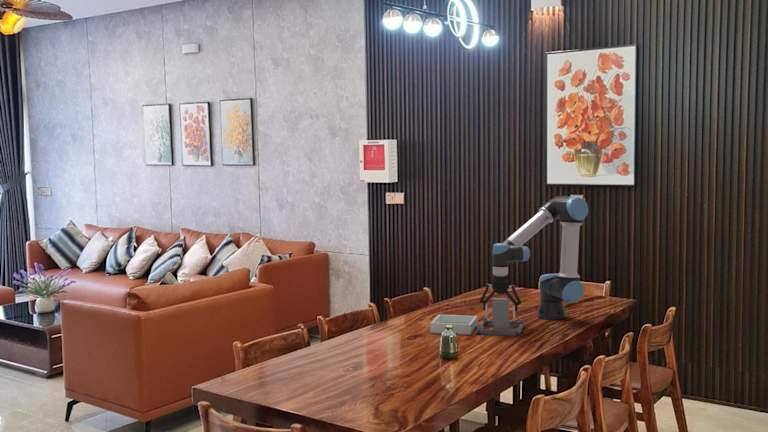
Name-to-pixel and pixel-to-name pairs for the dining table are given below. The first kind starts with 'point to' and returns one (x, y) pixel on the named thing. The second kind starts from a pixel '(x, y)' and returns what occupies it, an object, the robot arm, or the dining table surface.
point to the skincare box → (500, 313)
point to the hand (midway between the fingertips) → (500, 317)
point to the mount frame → (486, 322)
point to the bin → (454, 324)
